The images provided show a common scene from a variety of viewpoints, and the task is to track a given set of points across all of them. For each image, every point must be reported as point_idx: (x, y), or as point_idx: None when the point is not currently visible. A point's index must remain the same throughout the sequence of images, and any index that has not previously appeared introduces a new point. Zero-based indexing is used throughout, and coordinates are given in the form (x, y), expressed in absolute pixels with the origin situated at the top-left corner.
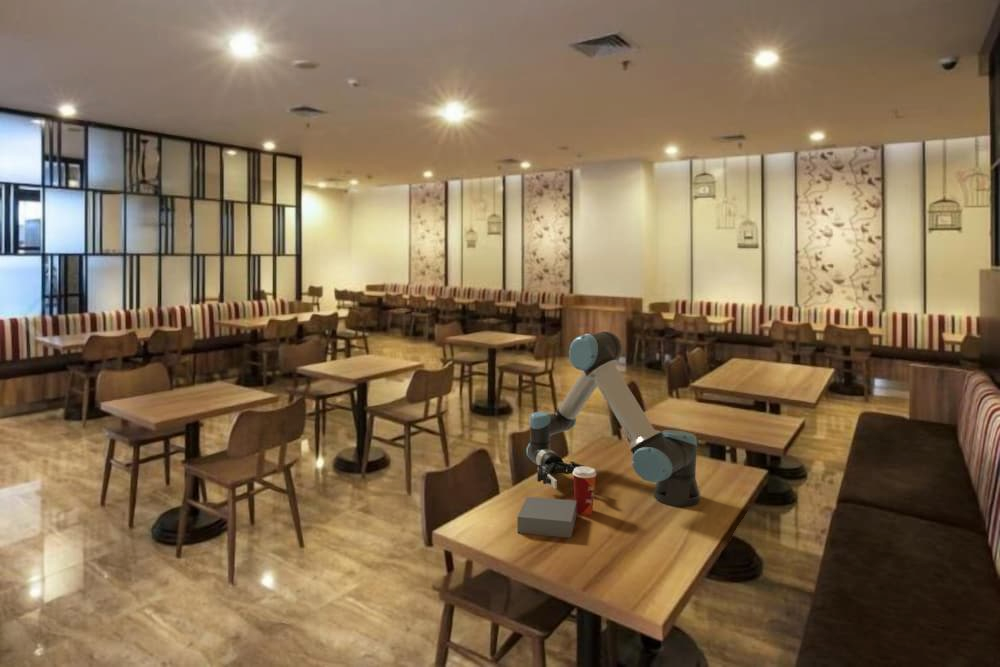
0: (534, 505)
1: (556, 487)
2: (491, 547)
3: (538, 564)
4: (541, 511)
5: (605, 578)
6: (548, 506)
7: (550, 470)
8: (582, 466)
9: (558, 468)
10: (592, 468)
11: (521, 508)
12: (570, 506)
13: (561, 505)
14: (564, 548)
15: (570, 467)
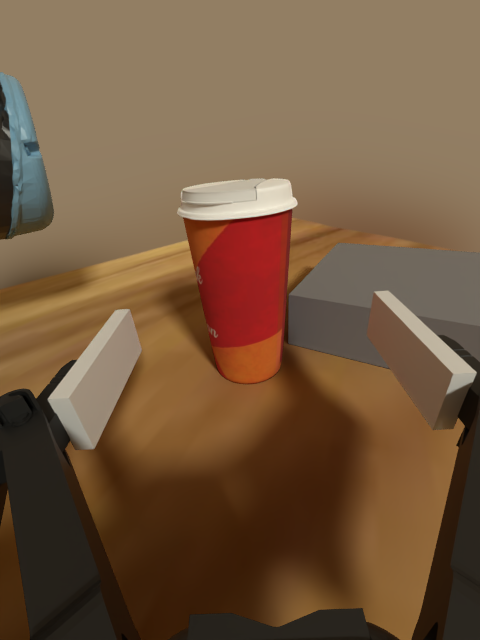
0: (464, 285)
1: (370, 328)
2: None
3: (405, 247)
4: (426, 265)
5: (307, 235)
6: (403, 279)
7: (463, 494)
8: (220, 191)
9: (311, 614)
10: (186, 189)
11: None
12: (322, 275)
13: (353, 280)
14: None
15: (99, 563)
